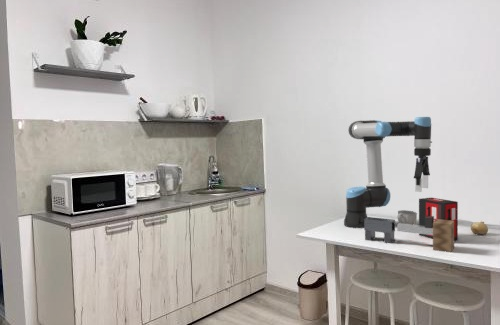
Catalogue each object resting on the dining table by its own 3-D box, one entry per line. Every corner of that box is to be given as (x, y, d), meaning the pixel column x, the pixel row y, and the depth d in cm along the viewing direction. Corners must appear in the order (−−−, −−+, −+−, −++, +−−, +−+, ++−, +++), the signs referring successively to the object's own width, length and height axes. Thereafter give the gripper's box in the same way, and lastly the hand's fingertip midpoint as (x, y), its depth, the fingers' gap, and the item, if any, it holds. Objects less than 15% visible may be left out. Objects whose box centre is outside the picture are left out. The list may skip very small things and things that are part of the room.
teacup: (407, 222, 237) (407, 209, 236) (421, 225, 227) (421, 212, 226) (389, 224, 232) (389, 211, 231) (402, 228, 222) (402, 214, 221)
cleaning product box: (457, 240, 192) (457, 201, 191) (444, 242, 189) (444, 203, 188) (431, 233, 208) (431, 197, 206) (419, 235, 204) (418, 198, 203)
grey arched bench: (364, 239, 198) (363, 219, 198) (368, 236, 204) (368, 216, 203) (391, 243, 190) (391, 222, 189) (395, 240, 195) (395, 219, 195)
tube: (396, 231, 189) (396, 214, 188) (399, 229, 193) (399, 213, 192) (443, 236, 176) (443, 219, 176) (445, 234, 180) (445, 217, 180)
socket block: (433, 249, 177) (433, 222, 177) (436, 245, 184) (436, 219, 184) (450, 252, 173) (450, 224, 172) (454, 247, 180) (454, 220, 179)
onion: (483, 236, 198) (484, 223, 197) (468, 234, 204) (468, 221, 204) (490, 234, 202) (490, 221, 202) (474, 231, 209) (474, 219, 208)
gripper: (424, 149, 176) (423, 193, 178) (436, 146, 196) (435, 187, 197) (407, 148, 181) (407, 192, 182) (420, 146, 200) (420, 186, 202)
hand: (421, 189), depth 190 cm, fingers open, 13 cm apart
